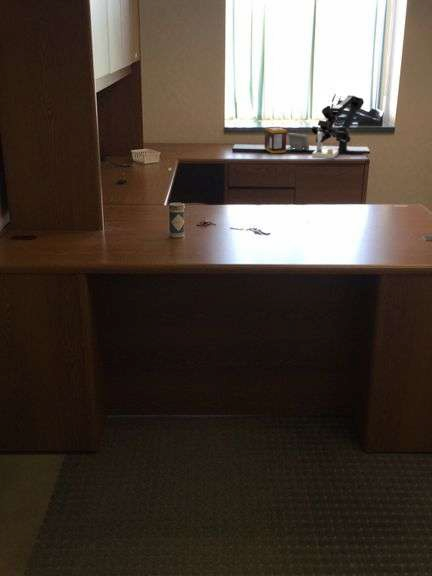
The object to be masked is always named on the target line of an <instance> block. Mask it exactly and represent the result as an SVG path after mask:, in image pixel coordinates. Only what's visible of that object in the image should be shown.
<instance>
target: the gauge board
mask: <svg viewBox="0 0 432 576" xmlns="http://www.w3.org/2000/svg"><path fill="white" fill-rule="evenodd" d="M338 154H339V150H337V149H333V148H322V152H317V149H315V150H314V151H313V152H312V155H311V156H312V157H314V158H325V159H334V158H335V157H336V156H338Z"/></svg>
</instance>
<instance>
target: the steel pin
mask: <svg viewBox="0 0 432 576" xmlns="http://www.w3.org/2000/svg"><path fill="white" fill-rule="evenodd" d="M323 136H324V133H323V132H318V136H317V135H316V137H317V142H316V150H317V152H322V149H323V142H322V143H321V140H322V138H323Z"/></svg>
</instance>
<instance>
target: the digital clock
mask: <svg viewBox="0 0 432 576" xmlns="http://www.w3.org/2000/svg"><path fill="white" fill-rule="evenodd" d="M287 135H288V136H287V137H288V141H289V148H295V149H303V148H305V149H303V150H310V145H309V144H310V143H309V139H308V138H309V137H308V135H307V134H299V133H292V132H289V133H288V134H287ZM295 149H294V150H295Z"/></svg>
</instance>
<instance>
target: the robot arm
mask: <svg viewBox="0 0 432 576" xmlns="http://www.w3.org/2000/svg"><path fill="white" fill-rule="evenodd" d="M364 103H365V101H364V99H363V98H362V97H358V96H355V95H350V94H349V95H347V96H346V97H345V99H344V100H342V101H341V102H340V103H338V104H337V105H334V106H330V105H327V106H325V107H324V108H323V109H322V110H321V113H322V115H323V117H324V118H325V119H326V120H321V119H319V120H318V124H317V126H312V127H311V128H310V129H311V131H312V133H313V134H314V135H316V138H315V142H316V143H317V136H318V132H323V138H322V140H321V143H322V144H323V143H324V142H325V141H326V140H328V139H331V138H335V140H336V141H337V142H338V148H337V149H336V150H338V151H340V150H341V151H343V152H346V150H347V149H348V143H349V142H351V138H352V137H350V127H351V125H352V123H353V120H354V119H355V116H356V114H357V112H358V111H359V110H361V108H362V106H364ZM348 107H350V108H349V111H348V113H347V115H346V117H345V119H344V121H343V124H342V126H338V128H337V130H336V129H335V128H334V127H333V126H334V125H335V123H338V118H337V117H339V118H340V117H341V116H342V115H343V113H344V110H346V109H347V108H348ZM318 126H319V127H318ZM347 151H348V150H347Z"/></svg>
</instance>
